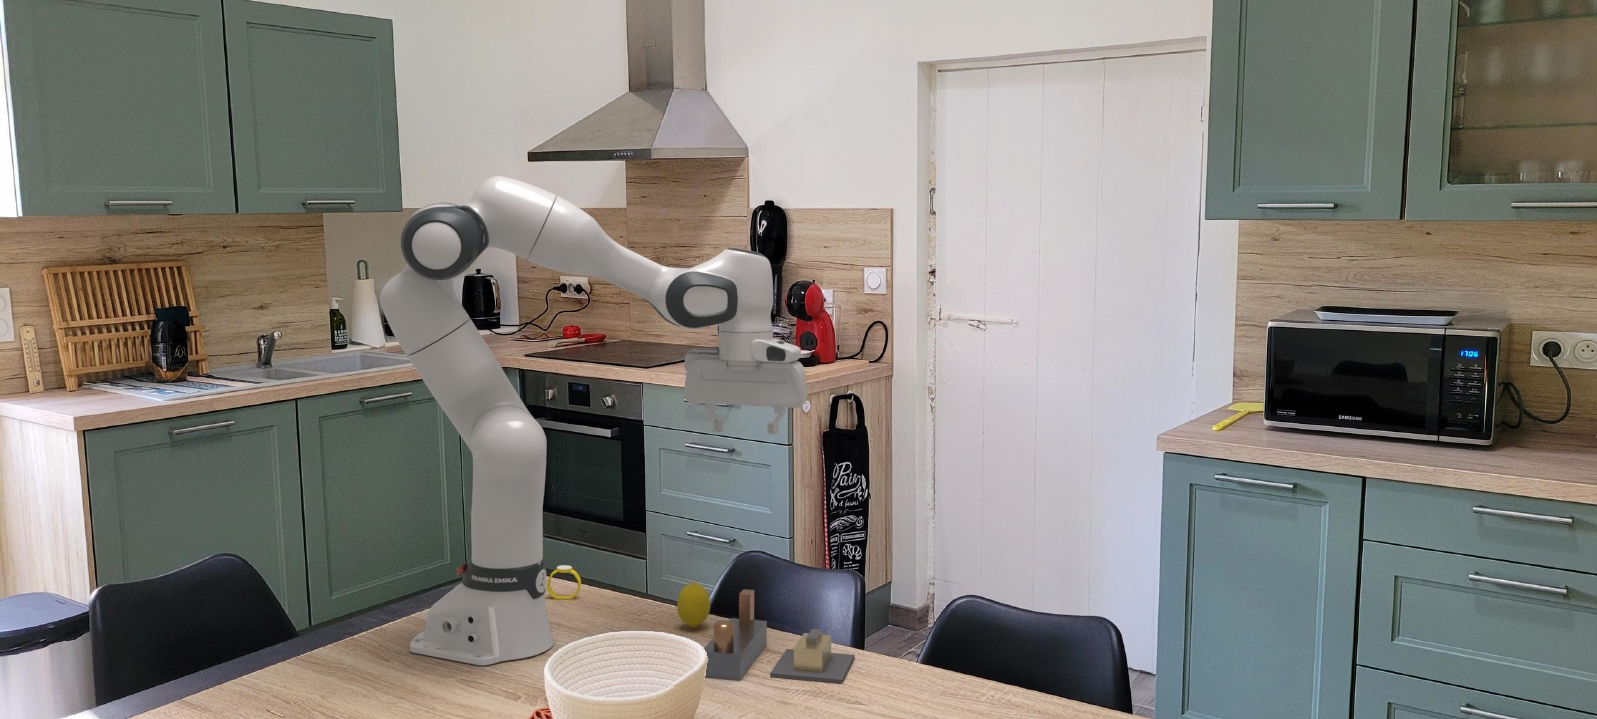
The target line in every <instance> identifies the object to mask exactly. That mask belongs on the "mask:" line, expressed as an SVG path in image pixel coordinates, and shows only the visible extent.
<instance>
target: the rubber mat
mask: <svg viewBox="0 0 1597 719" xmlns="http://www.w3.org/2000/svg"><path fill="white" fill-rule="evenodd" d="M855 656H856V655H855V654H850V653H838V652H831V658H830V660H829V662H828V663H827V665H826V667H825V669H824V671H823V672H822V673H818V672H807V671H796V670H794V648H786V649H785V651H784V652H783V654H782V655H781V656H780V658H779V660H778V661H777V663H776V664H775V665H774V667H773V669H772V670H771V671H770V673H769V675H770V676H769V677H770V678H776V679H777V678H779V679H789V680H797V681H809V682H819V683H829V684H830V683H831V684H839V685H842V684H843V683H844V681H845V679H846V676H847V674H849V671H850V669H851V666H852V665H853V663H854V661H855V659H856V658H855Z"/></svg>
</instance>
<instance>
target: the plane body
mask: <svg viewBox="0 0 1597 719" xmlns="http://www.w3.org/2000/svg"><path fill="white" fill-rule="evenodd" d="M738 598H739V599H738V602H739V603H738V618H735V617H731V618H730V619H729V620H727V619H726V620H725V619H724V620H723V619H722V620H716V621H715V622H713V638H712V639H711V640H710V641H709V642H708V643H707V644H706V646H704V648H703V649H705V651H706V652H707V656H708V659H709V660H708V663H707V669H706V677H705V678H710V679H711V678H712V679H719V680H720V679H722V680H729V681H730V680H731V681H732V680H733V681H741V680H742V678H743V677H744V676H745V674H746V673H747V671H748V670H749V669H750V668H751V666H752V665H753V664H754V662H755V661H756V660H757V658H759V656H760V654H761V653H762V651H763V650H764V649H765V647H766V646H767V637H768V636H767V627H768V626H767V624H768V622H767V620H761V619H755V590H754V589H745V588H744V589H742V590H741V591H740V592H739V593H738Z"/></svg>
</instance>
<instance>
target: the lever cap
mask: <svg viewBox="0 0 1597 719" xmlns="http://www.w3.org/2000/svg"><path fill="white" fill-rule="evenodd" d="M793 649H794V670H796V671H807V672H818V673H822V672H823V671H824V669H825V667H826V665H827V663H828V662H829V660H830V658H831V653H832V635H830V634H823V629H821V628H811V630H810V631H809V633H808V632H807V633H806V632H804V633H803V634H802V635H801V637H800V639H799V640H798V641H797V643H796V644H795V645H794V647H793Z"/></svg>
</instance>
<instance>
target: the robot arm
mask: <svg viewBox="0 0 1597 719" xmlns="http://www.w3.org/2000/svg"><path fill="white" fill-rule="evenodd" d="M488 248H490V249H491V248H494V249H501V250H504V251H507V252H509V253H511V254H513V255H516V256H517V257H519V258H522V259H524V260H527V261H528V262H530V263H533V264H535V265H537V266H540V267H542V268H546V269H547V270H553V271H555V272H559V273H564V274H566V275H573V276H575V275H576V276H577V275H579V276H588V277H592V278H598V279H600V280H603V281H605V282H608V283H610V284H613V285H615V286H617V287H619V288H621V289H623V290H626V292H627V291H628V292H629V293H631V294H634V295H636V296H638V297H640V298H642V299H643V300H645V301H646V302H648V303H649V304H650V305H651V306H652V308H653V309H654V310H655V312H656V313H657V314H658V315H660V317H661V318H662V319H663V320H664V321H665V322H667V323H669V324H671V325H673V326H676V327H681V328H683V329H688V330H699V329H705V328H707V327H711V326H716V325H718V347H700V346H696V347H693V348H692V349H690V350H688V351H687V352H686V354H685V356H684V369H685V371H686V374H685V381H684V389H683V390H684V393H683V395H684V396H683V397H684V399H685V401H686V402H687V403H688V404H697V405H700V404H701V405H703V404H704V407H705V408H704V411H705V413H706V415H707V417H708V418H709V419H710V421H711V431H712V432H717V433H720V432H723V431H724V419H719V418H718V415H717V413H716V412H715V411H716V410H717V409H718V405H723V406H725V405H726V406H747V407H748V406H749V407H768V408H769V407H771V408H773V407H774V411H773V412H774V414H776V417H775V418H774V420H773V421H770V422H768V423H767V435H778V434H779V429H780V427H779V426H780V422H781V421H782V419H783V418H784V416H785V413H786V411H787V410H786V408H792V409H793V408H796V409H799V408H801V407H802V406H804V405H805V404H806V403H807V401H808V384H807V377H806V376H807V375H806V370H805V367H804V365H803V364H802V362H800V361H798V360H799V359H800V358H801V355H802V349H801V348H800V347H799V346H797V345H794V344H793V343H788V342H786V341H784V340H780V339H777V338H775V337H773V336H774V329H773V328H774V327H773V324H772V317H771V316H772V315H771V313H772V310H773V307H774V284H773V281H774V280H773V272H772V270H773V269H772V266H771V262H770V260H769V259H768V258H767V257H766V256H765V255H764V254H763V253H760V252H757V251H753V250H748V249H745V248H737V247H728V248H725V249H724V250H723V251H721V253H718V254H717V255H716V256H714V257H711V259H708V260H706V261H704V262H703V263H700V264H697V265H695V266H692V267H690V266H667V265H663V264H661V263H658V262H655V261H653V260H652V259H649V258H647V257H645V256H643V255H641V254H639V253H636V251H635V252H634V251H632V250H631V249H628V248H626V247H625V246H623V245H621V244H619V243H618V242H616V241H615V240H614V239H613V238H611V237H610V236H609V235H608V234H607V233H606V232H605V231H604V230H603V229H602V227H601V225H600V224H599V223H598V222H597V221H596V219H595V218H594V217H593V216H591V215H590V214H588V213H587V212H586V211H585V210H583V209H581V208H580V207H578V206H577V205H575V204H573V203H572V202H570V201H569V200H567V199H565V198H563V197H561V196H560V195H559V196H558V195H556V194H555V193H554V192H550V191H548V190H545V189H544V188H541V187H539V186H536V185H534V184H531V183H527V182H524V181H522V180H518V179H515V178H512V177H508V176H503V175H495V176H490V177H488V178H486V179H485V180H484V181H482V182H481V183H480V184H479V185H478V187H477V188H476V190H475V191H474V193H473V195H472V197H471V198H470V200H469V201H468V202H466V204H464V205H463V204H462V205H458V204H455V203H451V202H435V203H431V204H430V203H429V204H427V205H424V206H422V207H420V208H418V210H416V211H415V212H413V213H412V215H411V216H410V217H409V218H408V220H407V222H406V223H405V225H404V227H403V229H402V231H401V236H400V249H401V254H402V256H403V259H404V261H405V262H406V266H405V268H404V269H402V270H401V271H400V272H399V273H396V274H395V275H394V276H393V277H391V278H390V279H389V280H388V281H387V283H385V285H384V286H383V288H382V290H381V292H380V296H379V303H380V307H381V309H382V311H383V314H384V316H385V319H386V321H387V323H388V326H389V327H390V329H391V331H392V334H393V335H394V337H395V339H396V340H397V342H398V344H399V346H400V348H401V349H402V351H403V353H404V354H405V356H406V357H407V358H408V360H409V362H410V363H411V364H412V366H413V368H414V369H415V370H416V372H417V373H418V375H419V377H420V378H421V379H422V381H423V382H424V384H425V386H426V387H427V388H428V390H429V392H430V393H431V395H432V396H433V398H434V399H435V401H436V402H437V404H439V406H440V408H441V409H442V411H443V412H444V414H445V415H446V417H447V418H448V419H449V420H450V422H451V424H453V426H454V428H455V429H456V431H457V433H458V434H459V435H460V437H461V438H462V440H463V442H465V445H466V446H467V447H468V448H469V450H470V452H471V456H472V490H471V494H472V496H471V511H470V518H471V519H470V522H471V523H470V524H471V525H470V526H471V527H470V528H471V529H470V530H471V532H470V533H471V534H470V535H471V538H470V539H471V558H470V559H469V560H468V561H466V562H463V563H462V565H461V566H459V567H458V568H456V571H457V572H456V576H460V575H461V574H462V579H461V582H460V583H459V584H458V585H456V586H455V587H454V588H453V589H451V590H450V591H449V592H447V593H446V594H445V595H443V597H441V598H440V599H439V600H437V601H436V602H434V603H433V605H432V606H431V607H430V609H429V611H428V612H427V615H426V619H425V623H424V630H423V631H421V632H420V633H418V634H417V635H415V637H413V638H412V639H411V641H410V643H409V652H410V653H413V654H419V655H424V656H428V657H429V656H430V657H434V658H439V659H445V660H449V661H455V662H460V663H465V664H469V665H470V664H471V665H476V666H489V665H493V664H497V663H501V662H506V661H513V660H520V659H525V658H528V657H534V656H537V655H539V654H541V653H544V652H546V651H548V650H549V649H550V648H552V647H553V646H554V644H555V639H554V636H553V634H552V631H551V626H550V621H549V618H548V616H549V615H548V610H547V604H546V603H547V602H546V595H545V593H546V591H547V590H546V588H547V567H546V566H547V565H546V563H547V562H546V557H545V556H544V553H543V552H544V550H543V549H544V548H543V546H544V544H543V542H544V538H543V537H544V536H543V535H544V533H543V532H544V530H543V523H544V522H543V510H544V509H543V506H544V497H545V486H546V485H545V484H546V471H547V469H546V468H547V445H548V444H547V443H548V442H547V436H546V433H545V431H544V429H543V427H542V426H541V425H540V423H539V422H538V421H537V420H536V419H535V418H534V416H533V415H532V414H531V413H530V411H529V410H528V408H527V407H526V405H525V404H524V402H523V400H522V399H521V397H520V395H519V394H518V392H517V391H516V389H515V388H514V385H513V384H512V383H511V381H510V380H509V378H508V377H507V375H506V373H505V371H504V369H503V367H501V364H500V363H499V361H498V359H497V358H496V356H495V355H494V354H493V352H492V350H491V349H490V347H489V345H488V344H487V342H486V341H485V339H484V337H483V336H482V334H481V333H480V331H479V330H478V328H477V327H476V325H475V323H474V322H473V320H472V319H471V318H470V316H469V313H467V310H465V308H464V307H463V305H462V303H461V302H460V300H459V298H458V296H457V294H456V291H455V286H454V281H455V277H459V276H460V275H462V273H464V272H465V271H466V270H468V269H469V268H470V266H472V265H473V263H475V261H476V260H477V259H478V258H479V257H480V255H481V254H482V253H483V252H485V250H486V249H488Z"/></svg>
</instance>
